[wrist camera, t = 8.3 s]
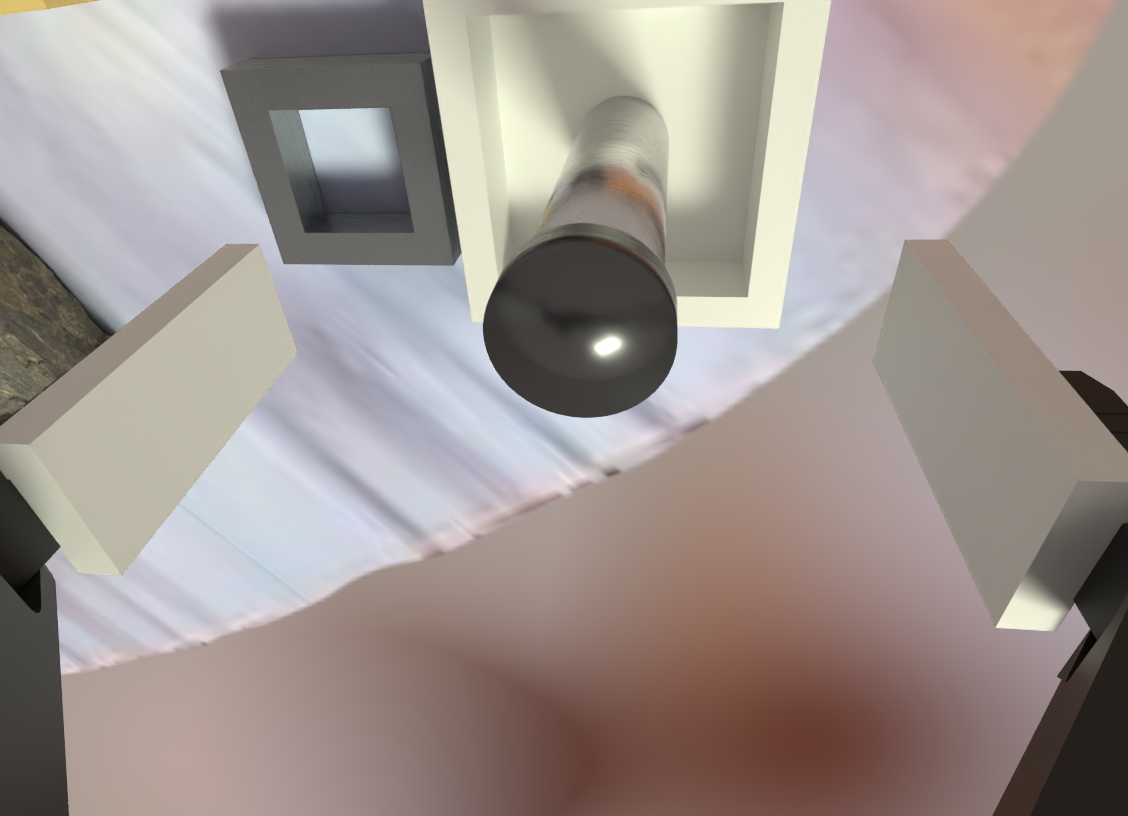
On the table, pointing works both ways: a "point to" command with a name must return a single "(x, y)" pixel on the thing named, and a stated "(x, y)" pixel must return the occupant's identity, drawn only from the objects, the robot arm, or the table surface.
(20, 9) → the block
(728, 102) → the tray
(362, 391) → the table surface
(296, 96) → the pin socket
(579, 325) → the pin
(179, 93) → the table surface
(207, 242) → the table surface
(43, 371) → the rock
